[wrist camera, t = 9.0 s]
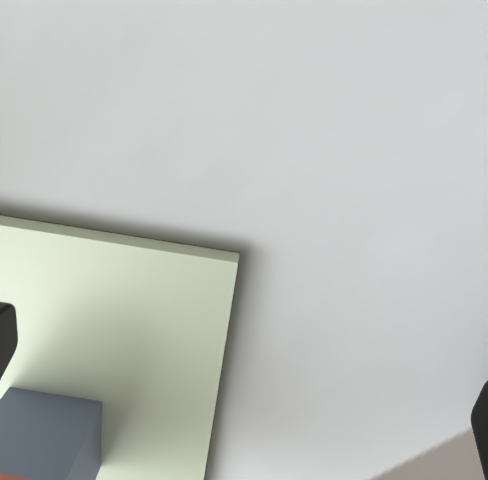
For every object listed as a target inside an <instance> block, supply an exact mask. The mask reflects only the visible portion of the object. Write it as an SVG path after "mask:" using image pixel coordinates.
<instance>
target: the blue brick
mask: <svg viewBox="0 0 488 480" xmlns="http://www.w3.org/2000/svg"><path fill="white" fill-rule="evenodd" d="M101 434H102V401H96V400H90V399H83V398H77V397H71V396H64V395H58V394H52V393H45V392H39V391H32V390H26V389H20V388H13V387H9V388H8V390H7V391H6V392H5V394H4V395H3V396H2V398H1V399H0V474H3V475H9V476H16V477H22V478H28V479H35V480H96V477H97V475H98V472H99V470H100V467H101Z"/></svg>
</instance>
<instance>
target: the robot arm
mask: <svg viewBox="0 0 488 480" xmlns="http://www.w3.org/2000/svg"><path fill="white" fill-rule="evenodd" d="M17 344H18V331H17V317H16V309H15V306H14V305H13V304H11V303H6V302H0V380H1V378H2V376H3V374H4V372H5V370H6V368H7V366H8V365H9V363H10V361H11V359H12V357H13V355H14V353H15V351H16V348H17ZM471 424H472V429H473V433H474V436H475V441H476V445H477V449H478V453H479V457H480V461H481V465H482V469H483V473H484V477H485V480H488V381H487V382H486V383H485V384H484V386H483V388H482V390H481V393H480V395H479V397H478V399H477V401H476V403H475V405H474V408H473V410H472V413H471Z"/></svg>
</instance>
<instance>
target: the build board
mask: <svg viewBox="0 0 488 480" xmlns="http://www.w3.org/2000/svg"><path fill="white" fill-rule="evenodd" d="M239 255H240V253H236V252H229V251H223V250H217V249H210V248H204V247H198V246H191V245H185V244H179V243H172V242H166V241H160V240H154V239H147V238H141V237H135V236H128V235H122V234H116V233H109V232H103V231H97V230H90V229H84V228H78V227H71V226H65V225H59V224H53V223H46V222H40V221H34V220H27V219H21V218H15V217H8V216H2V215H0V302H6V303H11V304H13V305H14V306H15V309H16V317H17V331H18V344H17V348H16V351H15V353H14V355H13V357H12V359H11V361H10V363H9V365H8V366H7V368H6V370H5V372H4V374H3V376H2V378H1V380H0V399H1V398H2V396H3V395H4V394H5V392H6V391H7V390H8V388H9V387H13V388H20V389H26V390H32V391H39V392H45V393H52V394H58V395H64V396H71V397H77V398H83V399H90V400H96V401H102V434H101V467H100V470H99V472H98V475H97V477H96V480H204V475H205V469H206V462H207V456H208V450H209V443H210V437H211V431H212V425H213V418H214V412H215V406H216V399H217V393H218V387H219V381H220V374H221V368H222V362H223V355H224V349H225V343H226V337H227V330H228V324H229V318H230V311H231V305H232V299H233V293H234V286H235V280H236V274H237V267H238V261H239Z"/></svg>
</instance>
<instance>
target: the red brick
mask: <svg viewBox="0 0 488 480" xmlns="http://www.w3.org/2000/svg"><path fill="white" fill-rule="evenodd" d="M0 480H35V479H28V478H22V477H16V476H9V475H3V474H0Z"/></svg>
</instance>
